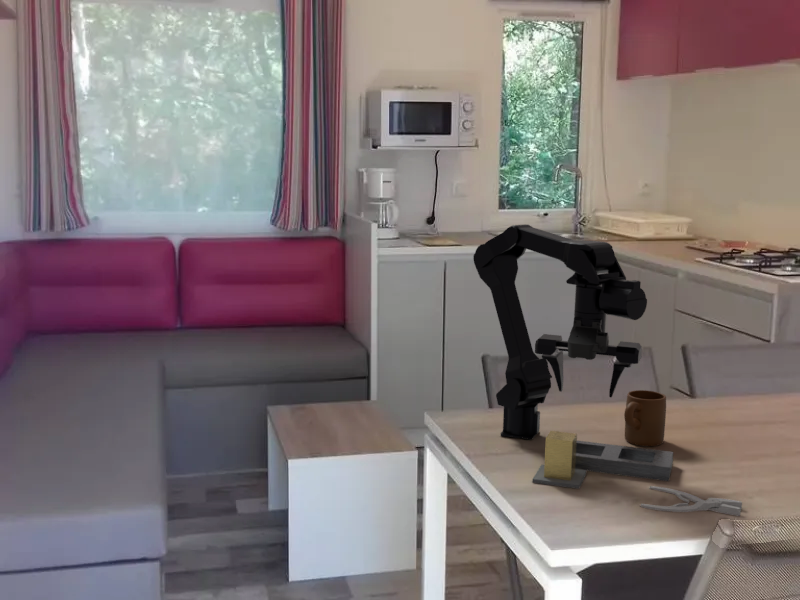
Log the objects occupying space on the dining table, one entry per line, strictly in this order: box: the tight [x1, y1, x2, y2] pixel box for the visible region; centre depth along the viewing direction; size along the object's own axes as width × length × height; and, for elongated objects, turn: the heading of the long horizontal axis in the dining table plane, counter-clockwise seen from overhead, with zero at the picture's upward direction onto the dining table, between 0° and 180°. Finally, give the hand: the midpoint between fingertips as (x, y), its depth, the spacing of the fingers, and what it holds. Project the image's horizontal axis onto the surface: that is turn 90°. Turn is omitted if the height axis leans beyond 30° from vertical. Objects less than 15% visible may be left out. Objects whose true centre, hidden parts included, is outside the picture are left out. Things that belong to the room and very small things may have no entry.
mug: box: [623, 389, 667, 447], centre depth 185 cm, size 12×8×9 cm, turn 140°
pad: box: [531, 464, 587, 490], centre depth 166 cm, size 8×8×1 cm
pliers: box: [640, 485, 743, 517], centre depth 155 cm, size 10×2×15 cm
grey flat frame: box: [575, 439, 674, 482], centre depth 172 cm, size 20×9×2 cm, turn 70°
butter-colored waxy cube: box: [544, 430, 578, 481], centre depth 165 cm, size 5×5×7 cm
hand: (585, 393), depth 176 cm, fingers open, 9 cm apart
